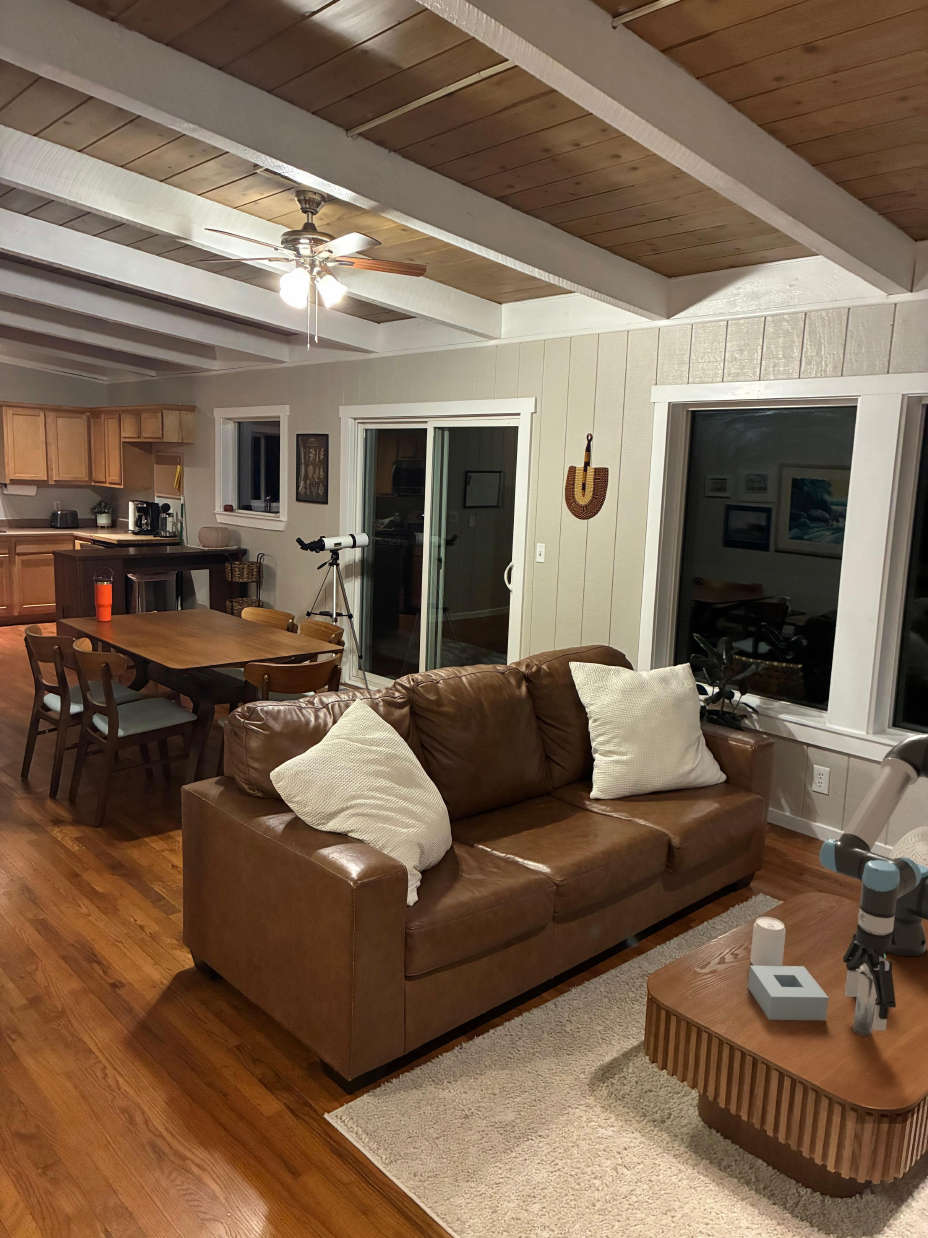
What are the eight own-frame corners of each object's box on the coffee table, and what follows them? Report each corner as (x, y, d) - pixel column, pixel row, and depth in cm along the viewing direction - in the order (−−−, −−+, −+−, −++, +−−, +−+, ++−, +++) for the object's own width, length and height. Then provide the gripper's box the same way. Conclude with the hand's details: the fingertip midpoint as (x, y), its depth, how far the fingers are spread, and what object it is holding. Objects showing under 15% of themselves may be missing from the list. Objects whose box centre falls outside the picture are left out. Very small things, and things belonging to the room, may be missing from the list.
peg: (866, 1026, 217) (872, 971, 215) (874, 1036, 213) (881, 980, 211) (849, 1025, 217) (856, 971, 215) (858, 1036, 213) (864, 980, 211)
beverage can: (777, 959, 246) (782, 917, 245) (785, 974, 238) (789, 932, 237) (747, 956, 247) (751, 914, 245) (753, 971, 239) (757, 929, 237)
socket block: (801, 988, 232) (803, 966, 231) (825, 1020, 218) (828, 997, 218) (747, 987, 231) (750, 965, 230) (768, 1020, 218) (771, 996, 217)
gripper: (834, 903, 223) (825, 983, 226) (886, 955, 198) (875, 1044, 202) (864, 903, 223) (854, 983, 227) (919, 956, 199) (908, 1045, 202)
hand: (864, 1012), depth 214 cm, fingers open, 13 cm apart
